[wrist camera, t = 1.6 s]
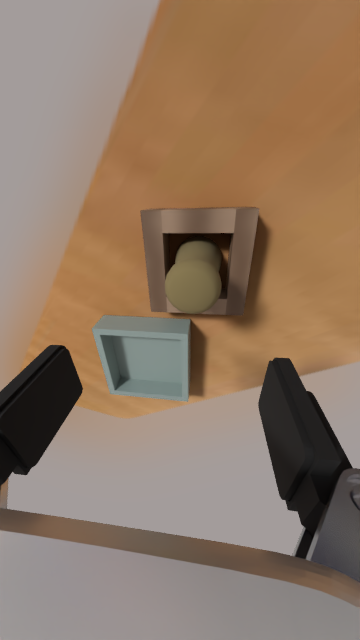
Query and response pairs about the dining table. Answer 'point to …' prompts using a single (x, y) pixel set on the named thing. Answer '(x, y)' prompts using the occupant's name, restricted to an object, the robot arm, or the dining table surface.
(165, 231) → the socket
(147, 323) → the tray
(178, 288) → the cork
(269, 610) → the robot arm
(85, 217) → the dining table surface
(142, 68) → the dining table surface
